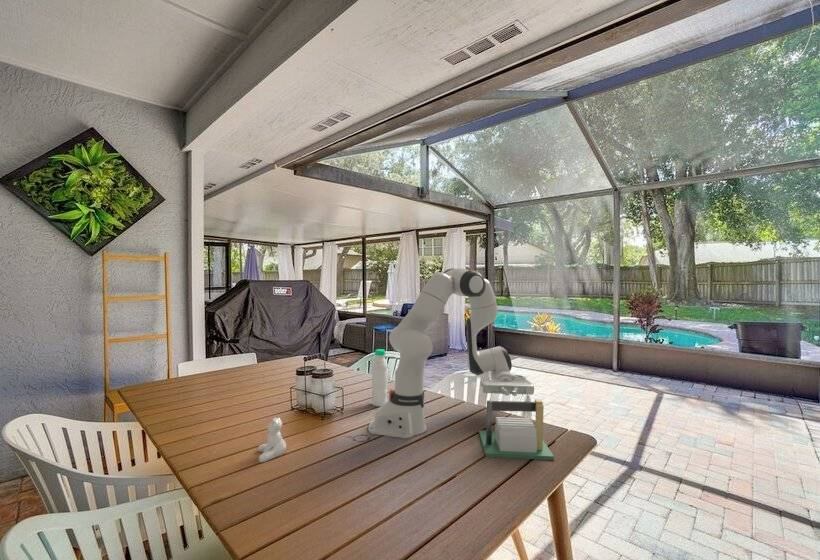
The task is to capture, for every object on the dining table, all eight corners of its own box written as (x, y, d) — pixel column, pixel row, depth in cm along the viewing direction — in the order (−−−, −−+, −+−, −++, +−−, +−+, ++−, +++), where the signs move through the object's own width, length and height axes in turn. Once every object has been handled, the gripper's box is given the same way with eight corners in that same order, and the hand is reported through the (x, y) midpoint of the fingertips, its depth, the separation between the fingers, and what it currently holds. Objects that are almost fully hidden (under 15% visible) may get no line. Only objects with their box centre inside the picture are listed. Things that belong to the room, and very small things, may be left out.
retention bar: (486, 444, 129) (487, 402, 128) (485, 441, 131) (486, 400, 130) (538, 445, 129) (539, 403, 128) (536, 442, 131) (537, 401, 130)
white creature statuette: (258, 450, 125) (258, 414, 125) (285, 445, 128) (285, 411, 128) (258, 463, 116) (259, 425, 116) (287, 458, 120) (288, 421, 120)
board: (485, 456, 123) (486, 405, 123) (479, 433, 141) (480, 388, 141) (553, 460, 121) (555, 407, 121) (538, 435, 139) (539, 390, 139)
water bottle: (384, 407, 166) (385, 351, 166) (369, 406, 168) (370, 350, 167) (388, 402, 173) (389, 348, 173) (374, 400, 175) (375, 347, 174)
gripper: (479, 374, 157) (483, 384, 143) (528, 376, 156) (537, 386, 142) (479, 389, 157) (483, 400, 143) (528, 391, 156) (537, 402, 142)
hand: (511, 393), depth 143 cm, fingers closed
